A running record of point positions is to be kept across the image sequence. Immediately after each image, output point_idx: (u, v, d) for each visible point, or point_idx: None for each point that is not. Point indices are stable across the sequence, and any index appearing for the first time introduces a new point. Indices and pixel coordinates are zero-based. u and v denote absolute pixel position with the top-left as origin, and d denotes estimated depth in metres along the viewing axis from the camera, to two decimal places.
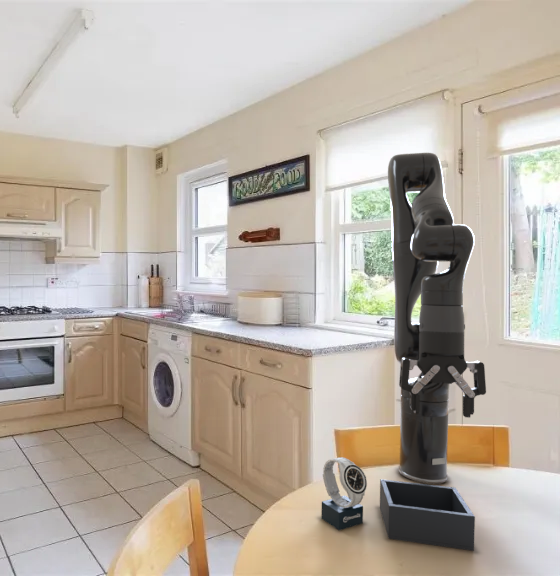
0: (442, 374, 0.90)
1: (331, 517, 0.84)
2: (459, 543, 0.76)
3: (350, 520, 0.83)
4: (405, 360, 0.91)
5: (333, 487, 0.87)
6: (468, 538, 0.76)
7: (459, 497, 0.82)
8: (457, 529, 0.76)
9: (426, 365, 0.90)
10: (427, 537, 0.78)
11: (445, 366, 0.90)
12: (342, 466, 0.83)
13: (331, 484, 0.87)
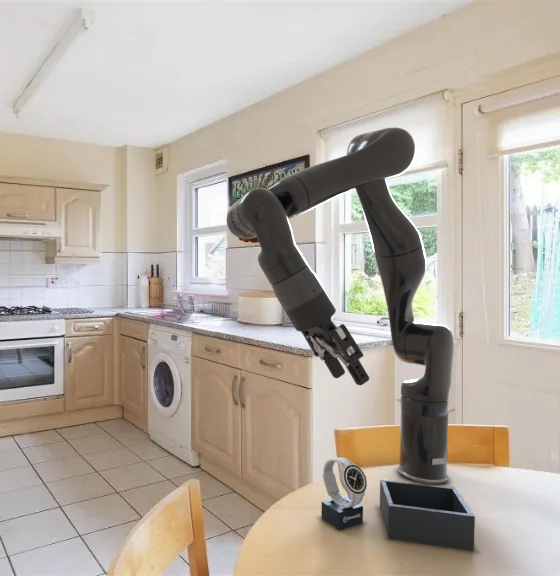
0: None
1: (331, 517, 0.84)
2: (459, 543, 0.76)
3: (350, 520, 0.83)
4: (301, 330, 0.87)
5: (333, 487, 0.87)
6: (468, 538, 0.76)
7: (459, 497, 0.82)
8: (457, 529, 0.76)
9: (311, 334, 0.84)
10: (427, 537, 0.78)
11: (319, 335, 0.81)
12: (342, 466, 0.83)
13: (331, 484, 0.87)
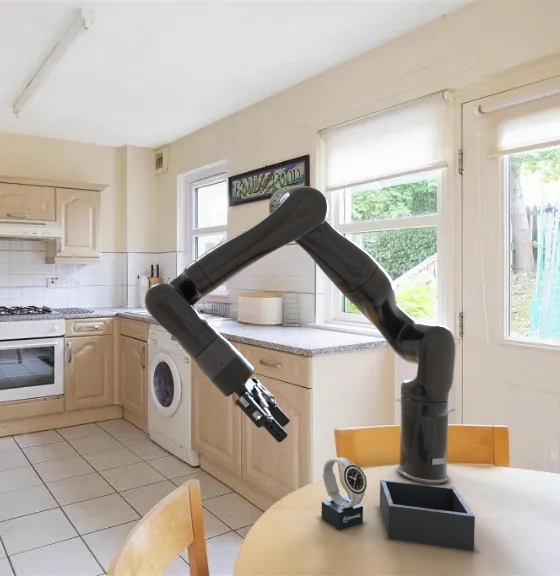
0: None
1: (331, 517, 0.84)
2: (459, 543, 0.76)
3: (350, 520, 0.83)
4: None
5: (333, 487, 0.87)
6: (468, 538, 0.76)
7: (459, 497, 0.82)
8: (457, 529, 0.76)
9: None
10: (427, 537, 0.78)
11: None
12: (342, 466, 0.83)
13: (331, 484, 0.87)
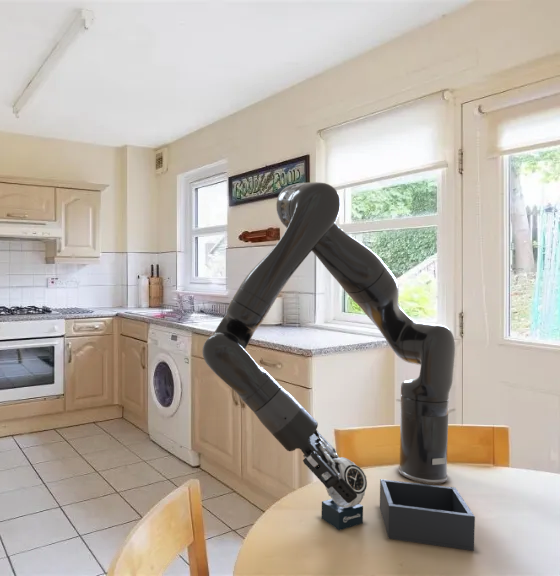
0: None
1: (331, 516, 0.84)
2: (459, 543, 0.76)
3: (350, 520, 0.83)
4: None
5: None
6: (468, 538, 0.76)
7: (459, 497, 0.82)
8: (457, 529, 0.76)
9: None
10: (427, 537, 0.78)
11: None
12: (342, 466, 0.83)
13: None
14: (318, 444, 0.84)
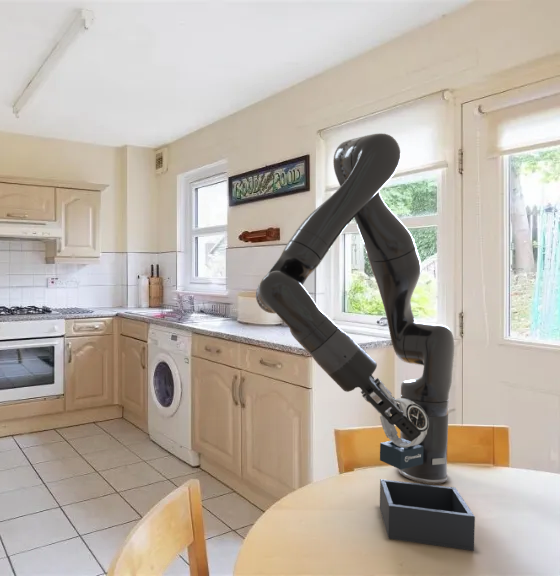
0: None
1: (391, 457, 0.82)
2: (459, 543, 0.76)
3: (411, 460, 0.81)
4: None
5: (391, 429, 0.85)
6: (468, 538, 0.76)
7: (459, 497, 0.82)
8: (457, 529, 0.76)
9: None
10: (427, 537, 0.78)
11: None
12: (403, 405, 0.81)
13: (389, 426, 0.85)
14: (378, 383, 0.82)
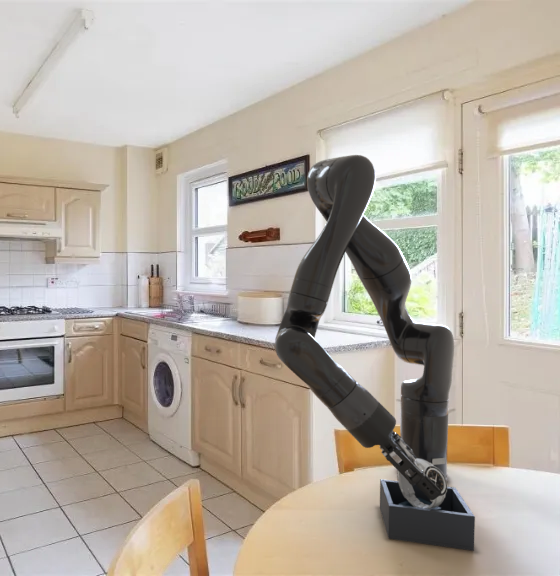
0: None
1: None
2: (459, 543, 0.76)
3: None
4: None
5: (408, 489, 0.85)
6: (468, 538, 0.76)
7: (459, 497, 0.82)
8: (457, 529, 0.76)
9: None
10: (427, 537, 0.78)
11: None
12: (421, 467, 0.81)
13: (406, 485, 0.85)
14: (397, 440, 0.82)
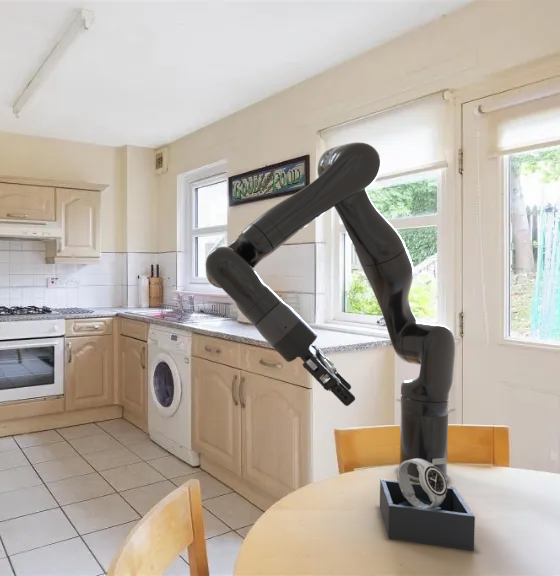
0: None
1: None
2: (459, 543, 0.76)
3: None
4: None
5: (408, 489, 0.85)
6: (468, 538, 0.76)
7: (459, 497, 0.82)
8: (457, 529, 0.76)
9: None
10: (427, 537, 0.78)
11: None
12: (421, 467, 0.81)
13: (406, 485, 0.85)
14: (317, 353, 0.86)
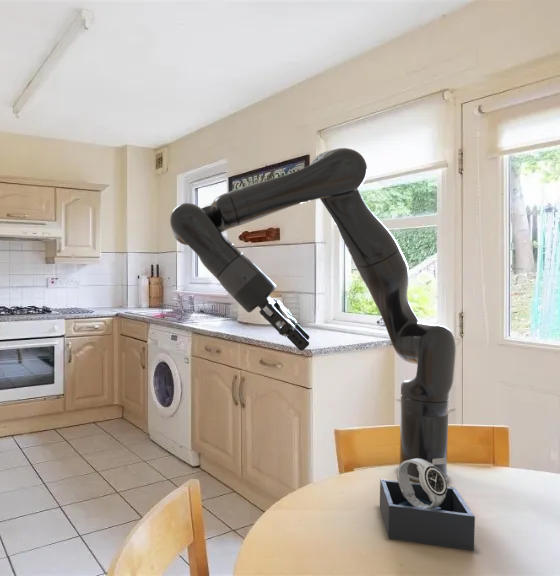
0: None
1: None
2: (459, 543, 0.76)
3: None
4: None
5: (408, 489, 0.85)
6: (468, 538, 0.76)
7: (459, 497, 0.82)
8: (457, 529, 0.76)
9: None
10: (427, 537, 0.78)
11: None
12: (421, 467, 0.81)
13: (406, 485, 0.85)
14: (275, 303, 0.90)
